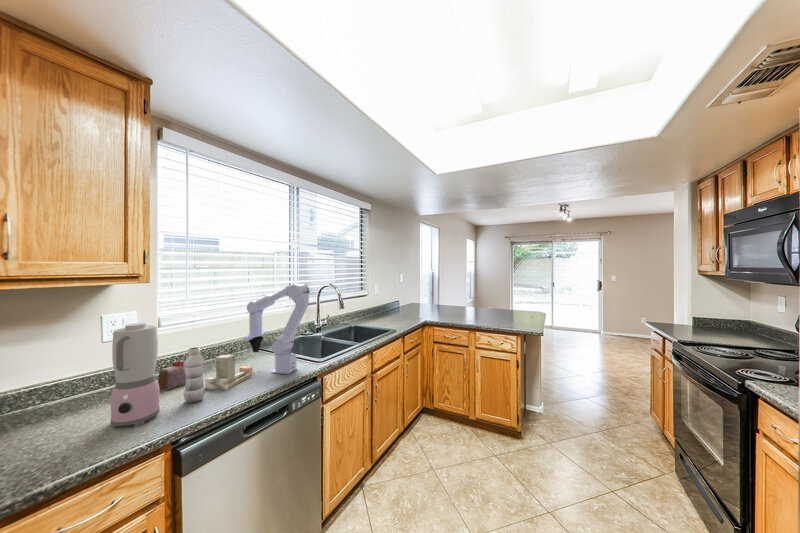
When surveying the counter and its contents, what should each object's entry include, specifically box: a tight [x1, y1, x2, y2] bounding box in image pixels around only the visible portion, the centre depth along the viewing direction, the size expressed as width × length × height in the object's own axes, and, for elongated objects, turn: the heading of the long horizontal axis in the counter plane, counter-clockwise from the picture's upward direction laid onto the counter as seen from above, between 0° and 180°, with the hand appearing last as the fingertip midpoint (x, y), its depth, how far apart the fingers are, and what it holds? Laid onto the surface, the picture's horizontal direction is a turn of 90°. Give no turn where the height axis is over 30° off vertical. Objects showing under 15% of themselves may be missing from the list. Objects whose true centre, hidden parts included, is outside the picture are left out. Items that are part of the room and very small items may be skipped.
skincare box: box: [215, 354, 236, 383], centre depth 129 cm, size 6×4×12 cm
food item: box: [157, 361, 186, 391], centre depth 129 cm, size 14×8×10 cm, turn 164°
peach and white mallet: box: [235, 365, 253, 379], centre depth 137 cm, size 5×11×4 cm, turn 168°
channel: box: [204, 373, 252, 391], centre depth 131 cm, size 10×15×4 cm, turn 168°
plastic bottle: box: [183, 346, 205, 404], centre depth 112 cm, size 6×7×20 cm
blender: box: [110, 322, 161, 430], centre depth 97 cm, size 16×12×32 cm
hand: (255, 352), depth 148 cm, fingers closed
